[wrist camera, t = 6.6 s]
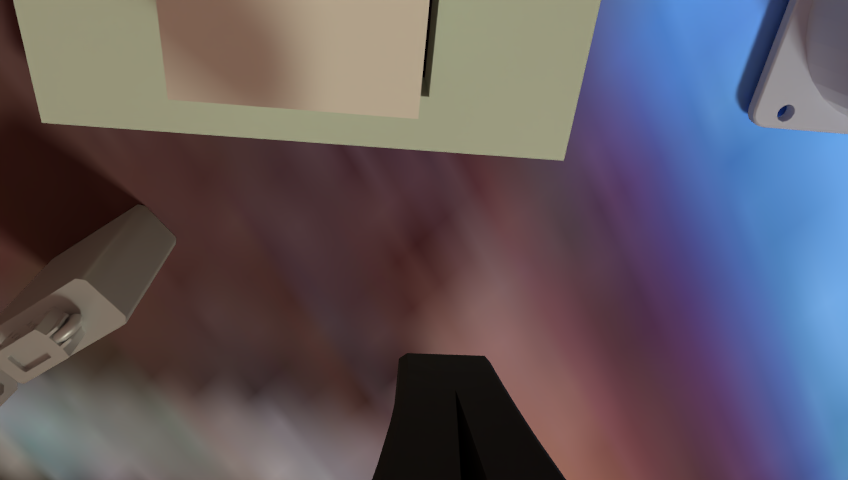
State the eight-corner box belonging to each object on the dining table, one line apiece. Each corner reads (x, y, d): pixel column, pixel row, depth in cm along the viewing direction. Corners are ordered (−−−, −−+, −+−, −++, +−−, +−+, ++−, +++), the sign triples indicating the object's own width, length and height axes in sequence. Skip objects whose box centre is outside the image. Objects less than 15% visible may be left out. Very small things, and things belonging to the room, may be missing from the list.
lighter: (141, 201, 19) (-5, 377, 12) (179, 241, 19) (64, 428, 12) (-13, 300, 20) (-224, 508, 13) (28, 333, 21) (-151, 545, 14)
